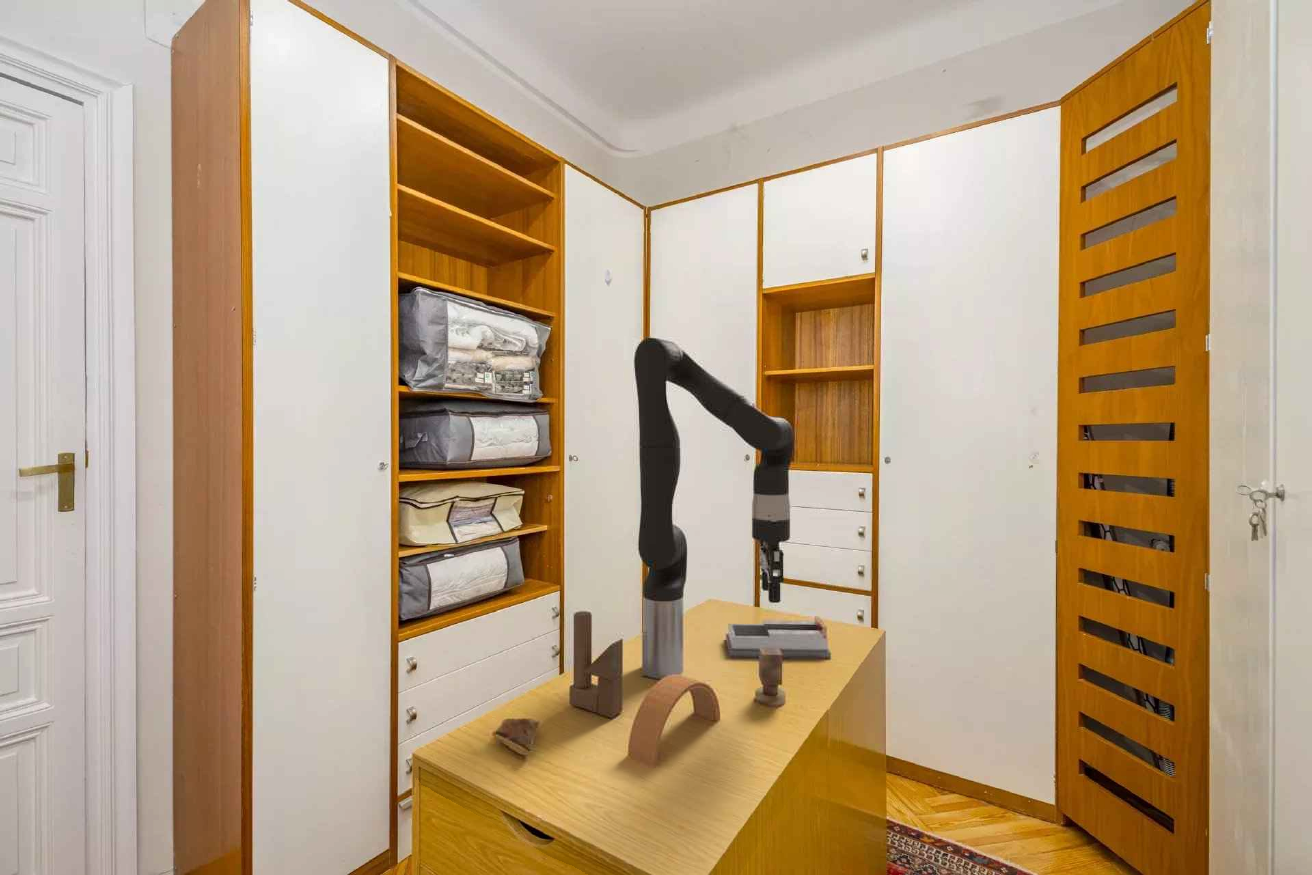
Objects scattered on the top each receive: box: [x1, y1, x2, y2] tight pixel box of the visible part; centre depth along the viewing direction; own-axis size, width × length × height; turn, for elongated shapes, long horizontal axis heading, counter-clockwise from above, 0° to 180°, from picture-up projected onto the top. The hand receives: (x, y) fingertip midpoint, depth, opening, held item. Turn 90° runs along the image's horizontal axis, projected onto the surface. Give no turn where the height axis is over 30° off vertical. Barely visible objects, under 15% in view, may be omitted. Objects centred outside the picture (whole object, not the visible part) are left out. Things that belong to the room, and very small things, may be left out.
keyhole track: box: [725, 615, 832, 660], centre depth 145 cm, size 24×12×7 cm, turn 88°
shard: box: [492, 718, 540, 758], centre depth 100 cm, size 11×8×2 cm
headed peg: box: [754, 647, 786, 708], centre depth 117 cm, size 6×6×10 cm
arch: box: [627, 674, 721, 768], centre depth 103 cm, size 6×20×10 cm, turn 141°
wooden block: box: [568, 610, 624, 719], centre depth 114 cm, size 4×11×18 cm, turn 57°
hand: (770, 595), depth 117 cm, fingers open, 8 cm apart
